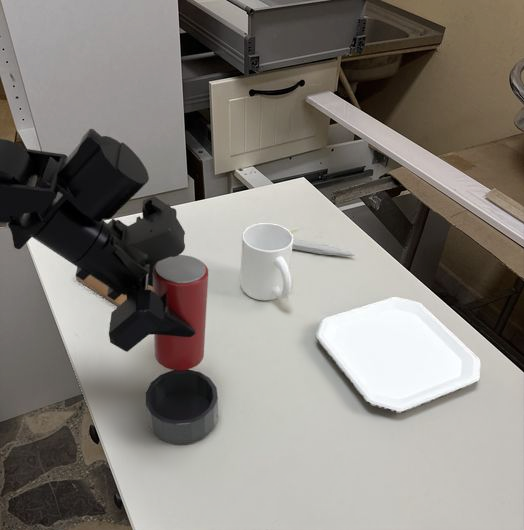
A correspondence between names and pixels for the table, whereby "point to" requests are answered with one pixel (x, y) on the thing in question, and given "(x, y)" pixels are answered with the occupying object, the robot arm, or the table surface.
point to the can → (182, 309)
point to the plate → (398, 353)
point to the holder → (181, 406)
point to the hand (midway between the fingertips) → (192, 315)
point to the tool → (319, 248)
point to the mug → (266, 261)
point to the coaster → (103, 289)
